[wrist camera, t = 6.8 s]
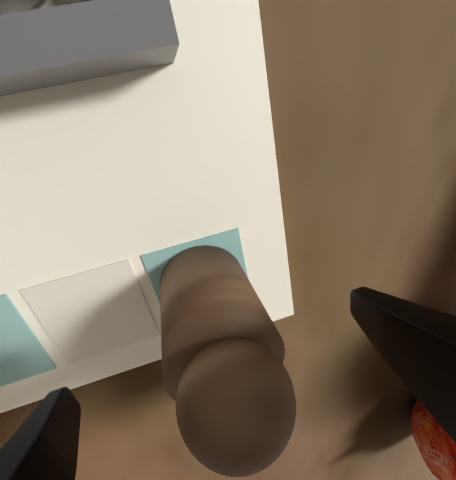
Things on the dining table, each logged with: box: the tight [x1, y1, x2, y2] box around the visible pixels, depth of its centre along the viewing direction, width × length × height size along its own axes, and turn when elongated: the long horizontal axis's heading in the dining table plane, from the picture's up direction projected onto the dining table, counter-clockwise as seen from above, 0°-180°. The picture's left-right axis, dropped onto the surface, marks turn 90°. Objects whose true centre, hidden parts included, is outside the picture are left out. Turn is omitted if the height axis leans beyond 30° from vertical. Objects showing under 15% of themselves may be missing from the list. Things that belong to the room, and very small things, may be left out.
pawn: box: [160, 245, 296, 477], centre depth 9 cm, size 4×4×7 cm
